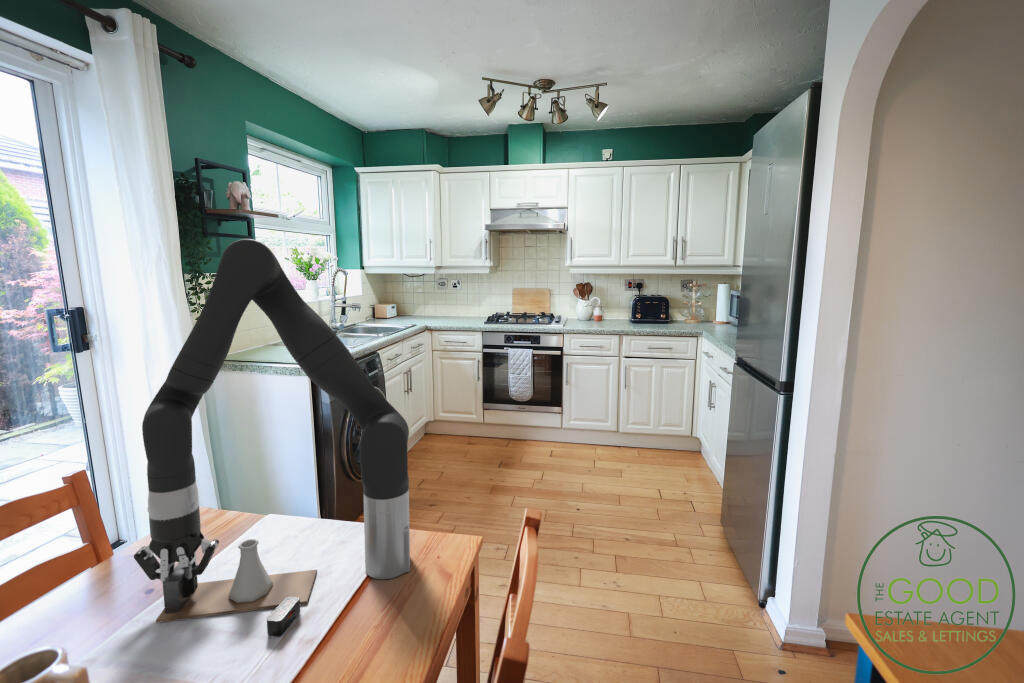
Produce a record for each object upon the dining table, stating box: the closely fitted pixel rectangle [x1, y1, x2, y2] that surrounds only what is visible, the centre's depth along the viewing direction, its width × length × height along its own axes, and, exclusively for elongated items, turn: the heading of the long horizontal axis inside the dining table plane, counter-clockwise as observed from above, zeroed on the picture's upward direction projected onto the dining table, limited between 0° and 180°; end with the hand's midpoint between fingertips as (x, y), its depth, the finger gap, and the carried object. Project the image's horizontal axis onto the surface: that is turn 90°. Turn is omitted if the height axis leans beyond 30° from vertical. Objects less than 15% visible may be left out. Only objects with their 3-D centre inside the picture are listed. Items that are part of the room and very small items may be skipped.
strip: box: [155, 562, 318, 624], centre depth 90 cm, size 25×10×6 cm, turn 103°
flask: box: [228, 538, 273, 603], centre depth 90 cm, size 7×7×10 cm
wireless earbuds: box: [266, 596, 301, 638], centre depth 83 cm, size 5×7×3 cm, turn 174°
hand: (181, 595), depth 88 cm, fingers closed on strip, 2 cm apart
